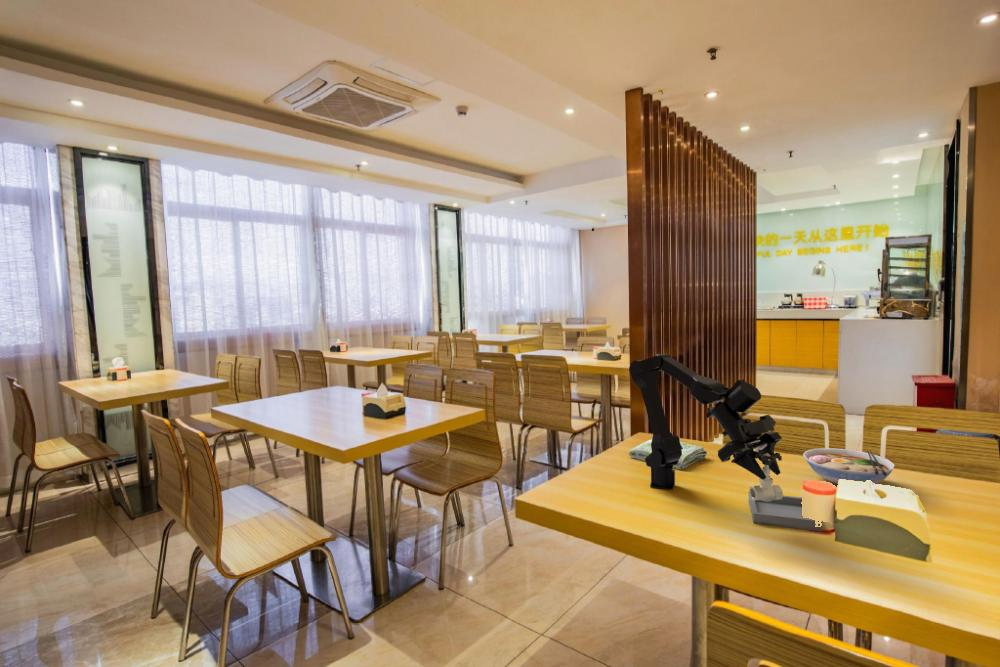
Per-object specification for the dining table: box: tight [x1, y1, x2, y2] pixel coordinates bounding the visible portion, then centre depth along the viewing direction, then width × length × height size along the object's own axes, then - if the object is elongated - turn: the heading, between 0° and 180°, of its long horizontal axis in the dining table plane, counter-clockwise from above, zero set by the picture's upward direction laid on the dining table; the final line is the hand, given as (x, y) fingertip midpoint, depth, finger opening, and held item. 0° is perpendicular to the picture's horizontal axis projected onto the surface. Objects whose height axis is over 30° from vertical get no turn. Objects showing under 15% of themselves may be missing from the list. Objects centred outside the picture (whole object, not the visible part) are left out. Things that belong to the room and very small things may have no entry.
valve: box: [748, 450, 784, 502], centre depth 126 cm, size 7×7×12 cm
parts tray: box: [747, 493, 824, 532], centre depth 133 cm, size 15×15×2 cm
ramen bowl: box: [802, 447, 896, 485], centre depth 153 cm, size 25×23×8 cm
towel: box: [628, 438, 708, 470], centre depth 182 cm, size 18×21×5 cm
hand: (771, 476), depth 124 cm, fingers closed on valve, 5 cm apart
